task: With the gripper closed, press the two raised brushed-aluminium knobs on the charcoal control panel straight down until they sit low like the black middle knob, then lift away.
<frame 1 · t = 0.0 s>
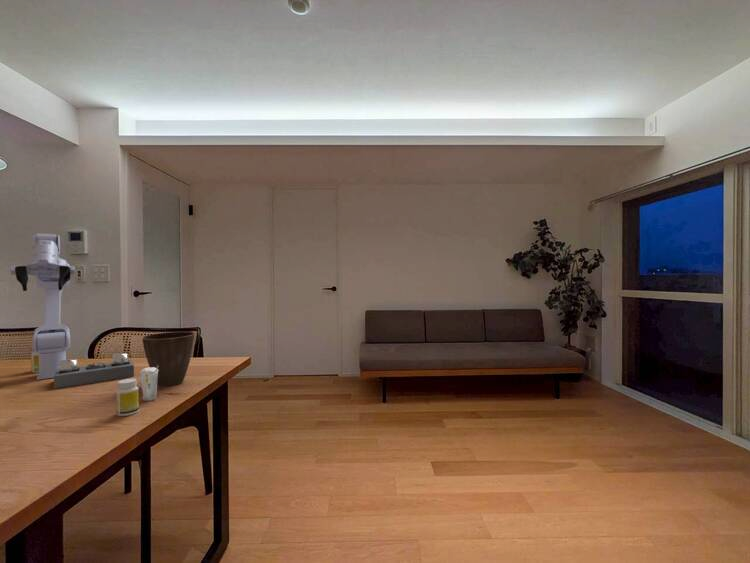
hand: (42, 288, 105), 32 cm above the table, tool tilted 50°, fingers open, 7 cm apart
knob 1: (69, 366, 118), point 5 cm above the table, slide at 0.0 cm
supplement bottle 2: (41, 371, 133), on the table
knob 2: (120, 360, 127), point 5 cm above the table, slide at 0.0 cm
milkshake: (151, 399, 101), on the table
control panel: (96, 378, 123), on the table
knob middle: (95, 370, 122), point 3 cm above the table, slide at 2.5 cm
supplement bottle: (128, 413, 91), on the table
plant pot: (170, 383, 117), on the table
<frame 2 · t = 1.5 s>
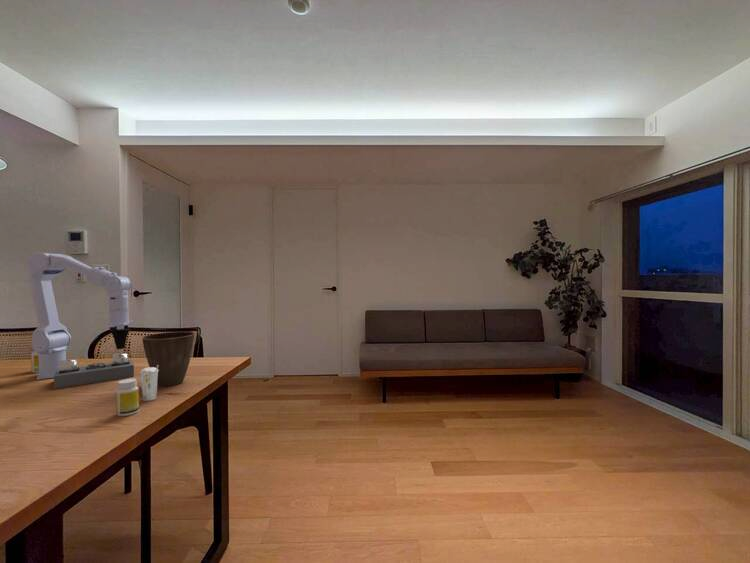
hand: (120, 347, 127), 10 cm above the table, tool pointing down, fingers open, 7 cm apart
nothing on the table moved.
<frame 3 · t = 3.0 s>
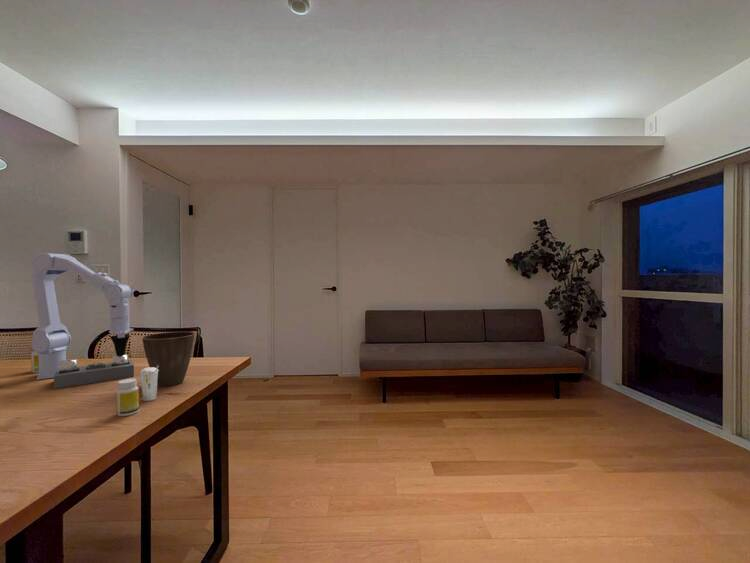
hand: (120, 355, 127), 7 cm above the table, tool pointing down, fingers closed, pressing on knob 2
knob 2: (120, 361, 127), point 5 cm above the table, slide at 0.5 cm, touching gripper
everything else where it was.
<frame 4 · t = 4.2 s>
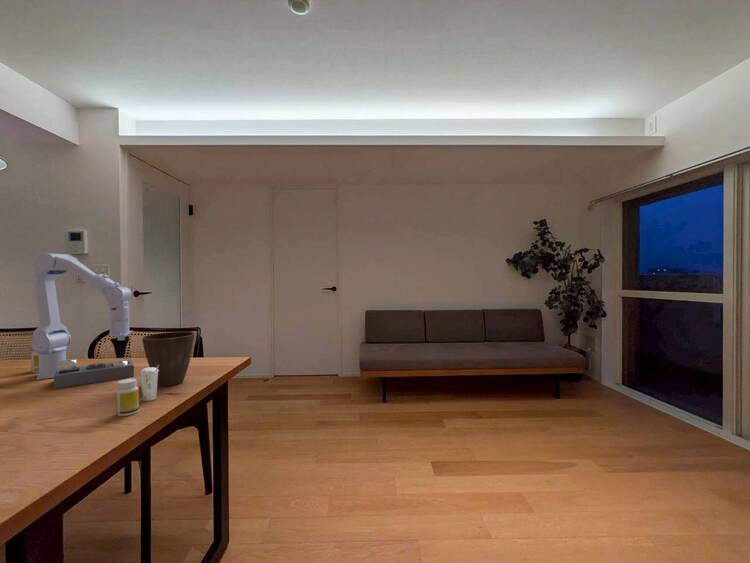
hand: (120, 357, 127), 6 cm above the table, tool pointing down, fingers closed
knob 2: (120, 367, 127), point 3 cm above the table, slide at 2.6 cm
everything else where it was.
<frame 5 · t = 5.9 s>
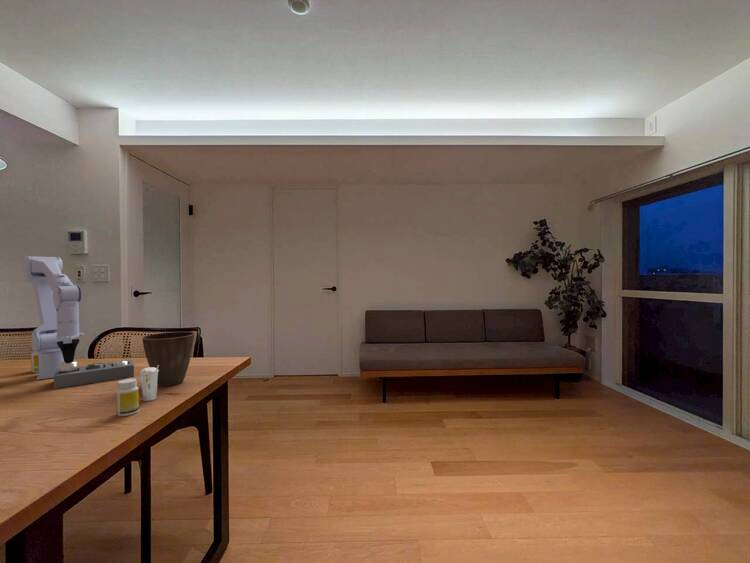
hand: (69, 361, 118), 7 cm above the table, tool pointing down, fingers closed, pressing on knob 1
knob 1: (69, 368, 118), point 5 cm above the table, slide at 0.6 cm, touching gripper
everything else where it was.
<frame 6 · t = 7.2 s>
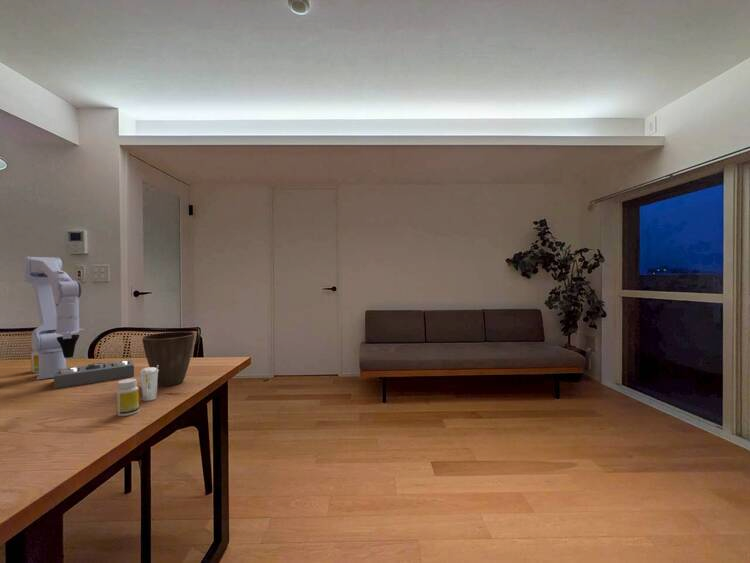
hand: (68, 357, 118), 9 cm above the table, tool pointing down, fingers closed
knob 1: (69, 374, 118), point 3 cm above the table, slide at 2.6 cm
everything else where it was.
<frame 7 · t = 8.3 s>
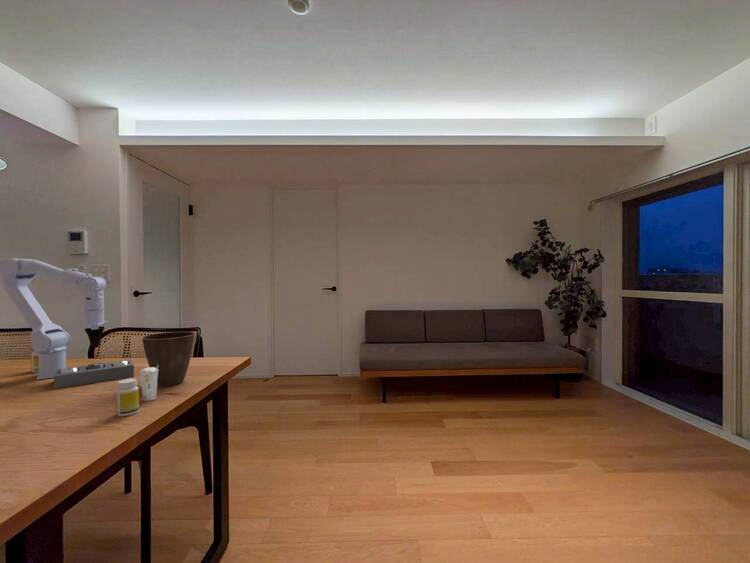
hand: (95, 347, 128), 10 cm above the table, tool pointing down, fingers closed
nothing on the table moved.
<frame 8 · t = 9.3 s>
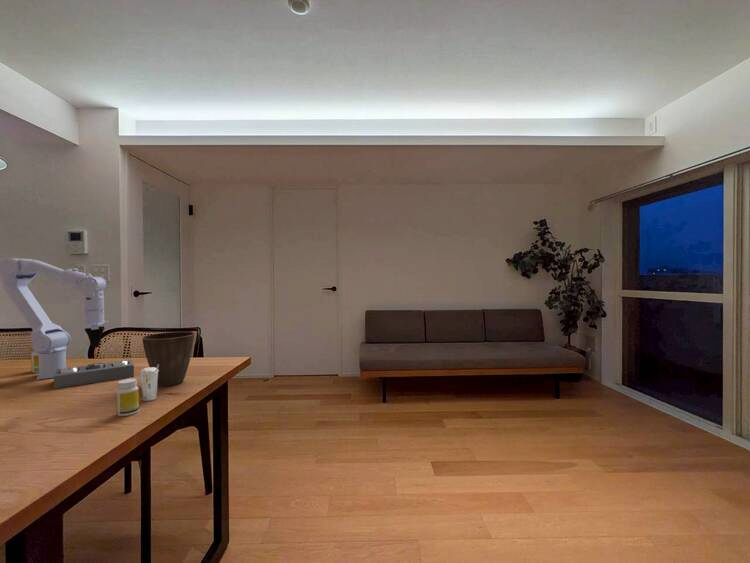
hand: (95, 347, 128), 10 cm above the table, tool pointing down, fingers closed
nothing on the table moved.
at the end: knob 2 slide at 2.6 cm; knob 1 slide at 2.6 cm; knob middle slide at 2.5 cm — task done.
